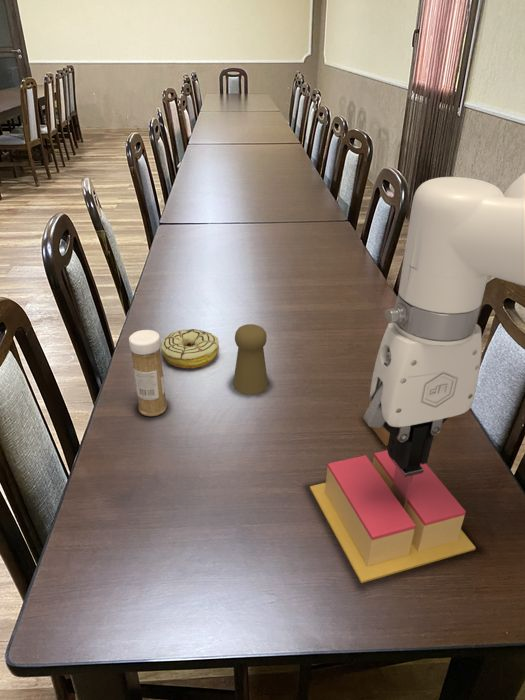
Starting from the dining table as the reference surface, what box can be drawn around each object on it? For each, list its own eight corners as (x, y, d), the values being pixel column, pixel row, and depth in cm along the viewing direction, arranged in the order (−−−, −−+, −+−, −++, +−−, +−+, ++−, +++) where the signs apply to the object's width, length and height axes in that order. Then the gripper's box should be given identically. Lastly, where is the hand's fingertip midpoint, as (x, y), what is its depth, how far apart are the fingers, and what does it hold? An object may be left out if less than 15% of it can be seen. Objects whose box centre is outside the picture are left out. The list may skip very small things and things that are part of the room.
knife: (395, 506, 68) (415, 407, 60) (410, 527, 65) (433, 427, 57) (378, 510, 67) (396, 411, 59) (393, 532, 64) (413, 431, 56)
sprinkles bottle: (172, 404, 87) (165, 332, 80) (157, 420, 83) (148, 346, 77) (148, 397, 89) (140, 326, 82) (132, 413, 85) (121, 339, 78)
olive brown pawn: (248, 399, 89) (249, 341, 83) (225, 383, 92) (224, 327, 87) (275, 385, 92) (277, 329, 86) (252, 370, 96) (252, 315, 90)
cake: (408, 465, 76) (414, 435, 73) (475, 549, 64) (485, 518, 61) (309, 488, 72) (312, 458, 69) (361, 583, 60) (366, 551, 57)
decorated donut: (200, 336, 106) (199, 319, 104) (230, 360, 99) (229, 342, 97) (152, 351, 101) (150, 334, 99) (179, 378, 93) (178, 359, 92)
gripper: (380, 345, 46) (358, 497, 56) (531, 320, 50) (486, 466, 60) (343, 307, 52) (329, 450, 62) (480, 288, 56) (447, 425, 66)
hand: (407, 457), depth 61 cm, fingers closed on knife, 1 cm apart
